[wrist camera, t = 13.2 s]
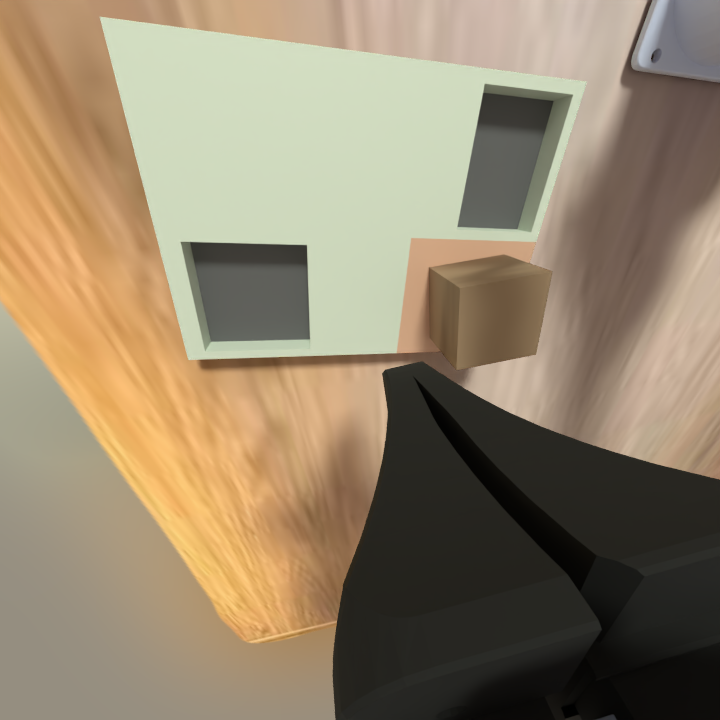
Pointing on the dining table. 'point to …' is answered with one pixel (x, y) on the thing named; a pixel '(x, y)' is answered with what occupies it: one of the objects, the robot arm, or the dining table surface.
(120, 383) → the dining table surface
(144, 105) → the board
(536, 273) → the block
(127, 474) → the dining table surface
